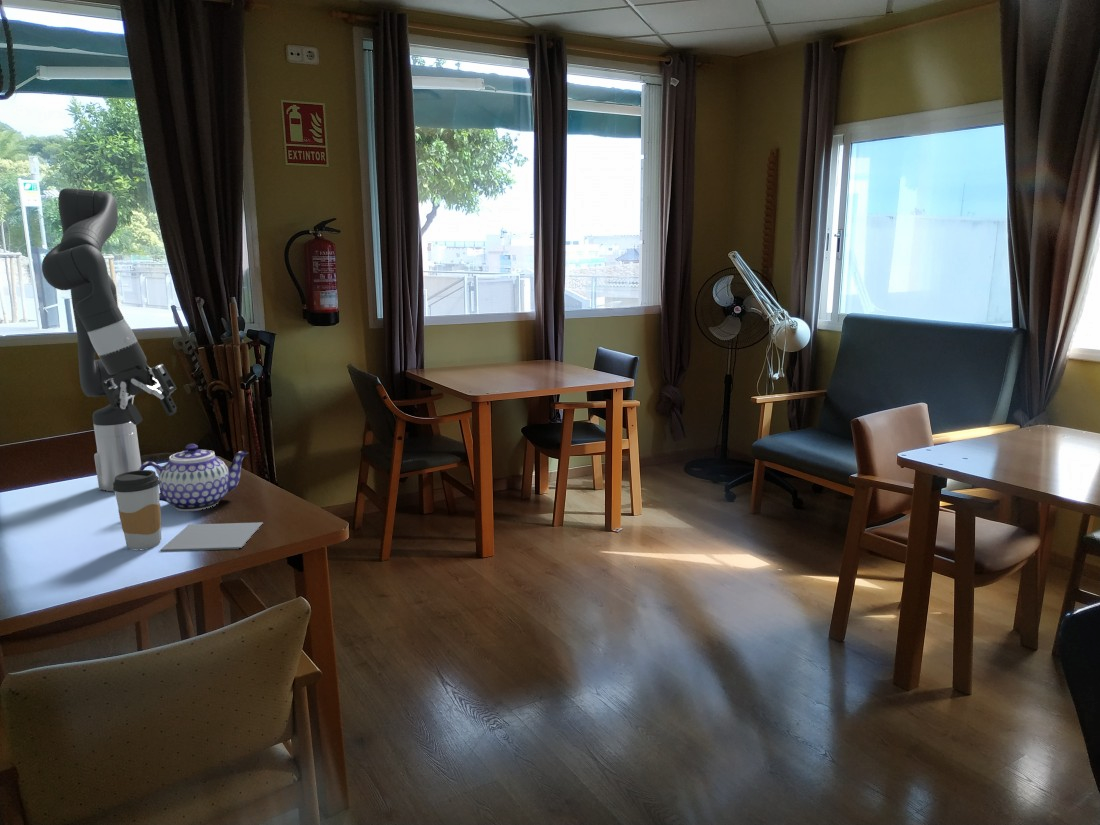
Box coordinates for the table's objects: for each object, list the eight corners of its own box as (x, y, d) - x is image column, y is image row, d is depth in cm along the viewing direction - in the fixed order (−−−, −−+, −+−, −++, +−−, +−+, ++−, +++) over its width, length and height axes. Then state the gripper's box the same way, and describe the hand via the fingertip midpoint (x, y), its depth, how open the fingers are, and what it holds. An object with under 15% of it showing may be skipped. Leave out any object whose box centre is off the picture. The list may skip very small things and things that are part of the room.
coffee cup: (152, 534, 160) (143, 467, 156) (175, 541, 155) (166, 472, 152) (112, 547, 153) (102, 477, 149) (136, 555, 148) (126, 483, 145)
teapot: (139, 524, 166) (131, 459, 163) (136, 504, 179) (128, 444, 175) (258, 504, 178) (252, 443, 175) (247, 487, 191) (242, 430, 188)
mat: (160, 551, 150) (160, 549, 150) (189, 526, 164) (188, 524, 164) (241, 548, 151) (241, 546, 151) (263, 524, 165) (263, 522, 165)
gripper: (158, 332, 150) (194, 404, 156) (101, 348, 154) (138, 418, 159) (134, 344, 144) (173, 418, 149) (75, 361, 147) (115, 433, 153)
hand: (155, 418), depth 154 cm, fingers open, 8 cm apart
